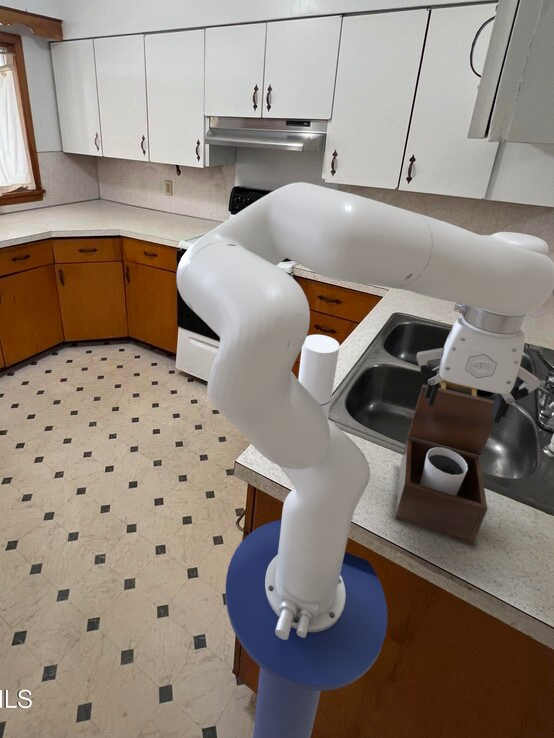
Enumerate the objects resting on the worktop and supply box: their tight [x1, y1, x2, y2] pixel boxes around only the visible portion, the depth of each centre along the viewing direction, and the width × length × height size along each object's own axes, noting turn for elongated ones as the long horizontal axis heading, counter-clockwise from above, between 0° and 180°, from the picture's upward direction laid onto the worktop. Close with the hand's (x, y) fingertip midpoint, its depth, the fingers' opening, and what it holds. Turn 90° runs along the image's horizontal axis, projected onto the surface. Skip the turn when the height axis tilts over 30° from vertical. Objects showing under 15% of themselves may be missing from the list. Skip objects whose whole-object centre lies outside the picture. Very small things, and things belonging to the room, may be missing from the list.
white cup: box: [420, 447, 468, 496], centre depth 77 cm, size 7×7×10 cm
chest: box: [394, 436, 488, 545], centre depth 78 cm, size 13×13×9 cm
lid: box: [407, 380, 496, 456], centre depth 79 cm, size 13×13×6 cm
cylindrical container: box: [297, 334, 340, 420], centre depth 89 cm, size 7×7×25 cm
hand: (461, 409), depth 70 cm, fingers open, 9 cm apart
